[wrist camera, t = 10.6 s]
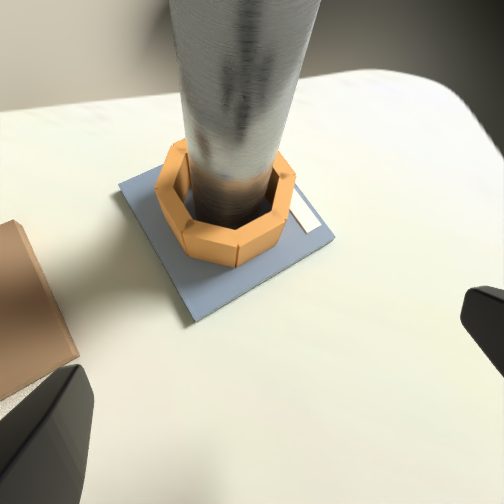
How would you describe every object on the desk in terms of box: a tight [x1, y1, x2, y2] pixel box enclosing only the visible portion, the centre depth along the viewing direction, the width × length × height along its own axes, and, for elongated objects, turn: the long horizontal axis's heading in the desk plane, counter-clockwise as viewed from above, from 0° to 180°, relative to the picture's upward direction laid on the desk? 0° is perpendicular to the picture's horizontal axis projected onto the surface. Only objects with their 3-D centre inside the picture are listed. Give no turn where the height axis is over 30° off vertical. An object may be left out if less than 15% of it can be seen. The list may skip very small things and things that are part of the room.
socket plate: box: [118, 138, 335, 322], centre depth 17 cm, size 9×9×4 cm
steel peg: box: [169, 0, 321, 230], centre depth 12 cm, size 4×4×13 cm
